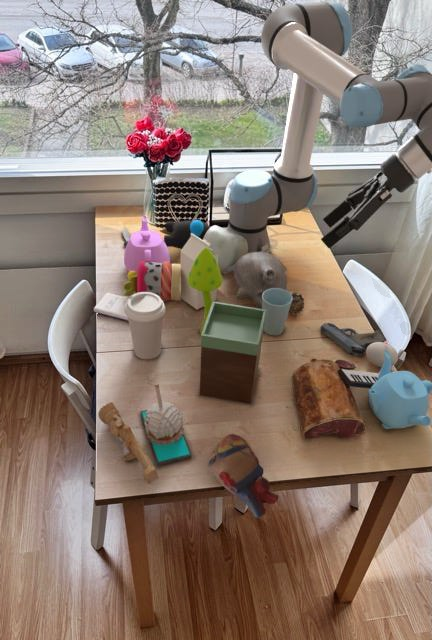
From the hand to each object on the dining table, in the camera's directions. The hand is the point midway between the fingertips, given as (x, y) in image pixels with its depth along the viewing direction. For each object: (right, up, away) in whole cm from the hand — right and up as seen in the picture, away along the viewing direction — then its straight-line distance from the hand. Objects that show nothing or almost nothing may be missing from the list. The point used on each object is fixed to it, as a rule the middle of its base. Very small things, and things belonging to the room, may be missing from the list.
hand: (325, 233), depth 125 cm
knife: (-55, +10, +45) cm, 72 cm away
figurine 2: (+16, -24, +7) cm, 30 cm away
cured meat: (+1, -38, +2) cm, 38 cm away
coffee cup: (-42, -26, +11) cm, 51 cm away
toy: (-41, +11, +41) cm, 59 cm away
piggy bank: (-14, -9, +30) cm, 34 cm away
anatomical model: (-24, -46, -17) cm, 55 cm away
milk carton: (-30, -11, +27) cm, 42 cm away
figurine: (-37, -53, -20) cm, 67 cm away
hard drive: (-45, -16, +21) cm, 52 cm away
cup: (-10, -20, +20) cm, 30 cm away
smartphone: (-36, -46, -8) cm, 59 cm away
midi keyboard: (+10, -32, +3) cm, 33 cm away
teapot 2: (+14, -42, -1) cm, 44 cm away
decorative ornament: (-36, -45, -8) cm, 58 cm away
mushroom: (-28, -21, +17) cm, 40 cm away
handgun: (+16, -19, +20) cm, 32 cm away
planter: (-17, +2, +33) cm, 37 cm away
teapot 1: (-46, 0, +38) cm, 59 cm away
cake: (-35, -7, +24) cm, 43 cm away
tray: (-21, -24, -6) cm, 32 cm away
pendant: (-2, -14, +25) cm, 29 cm away
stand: (-22, -34, +5) cm, 41 cm away
